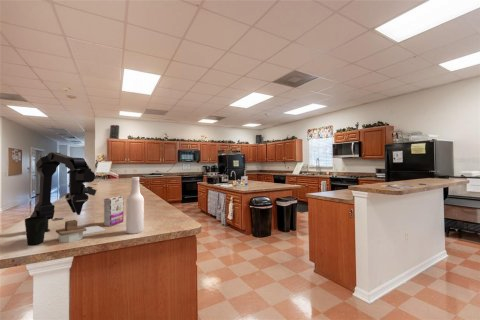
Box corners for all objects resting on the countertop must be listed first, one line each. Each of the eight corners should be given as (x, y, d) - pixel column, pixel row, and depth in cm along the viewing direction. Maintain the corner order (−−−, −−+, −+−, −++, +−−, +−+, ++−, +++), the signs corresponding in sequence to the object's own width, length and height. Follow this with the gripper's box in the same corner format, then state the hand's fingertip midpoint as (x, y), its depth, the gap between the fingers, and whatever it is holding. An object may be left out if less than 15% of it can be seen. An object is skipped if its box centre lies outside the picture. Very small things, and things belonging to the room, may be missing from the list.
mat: (72, 230, 125) (72, 229, 125) (96, 226, 135) (96, 225, 135) (80, 235, 117) (80, 234, 117) (106, 230, 126) (106, 229, 126)
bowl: (56, 240, 110) (57, 231, 110) (78, 235, 117) (78, 227, 117) (62, 244, 104) (62, 235, 105) (84, 239, 112) (85, 230, 112)
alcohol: (144, 232, 122) (145, 177, 123) (126, 235, 118) (127, 177, 118) (142, 228, 130) (142, 176, 130) (125, 230, 125) (126, 177, 126)
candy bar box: (117, 221, 146) (117, 196, 147) (123, 221, 145) (123, 196, 146) (103, 225, 135) (103, 198, 136) (110, 226, 134) (110, 198, 135)
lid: (55, 231, 110) (55, 221, 110) (79, 227, 118) (79, 217, 118) (61, 235, 104) (61, 224, 104) (86, 230, 112) (86, 220, 112)
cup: (33, 241, 108) (34, 216, 109) (50, 240, 109) (50, 215, 109) (19, 247, 101) (19, 220, 101) (37, 246, 101) (38, 219, 102)
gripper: (100, 181, 113) (100, 213, 112) (89, 181, 125) (90, 209, 125) (73, 183, 105) (73, 217, 104) (64, 182, 117) (65, 212, 117)
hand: (76, 213), depth 113 cm, fingers open, 9 cm apart
